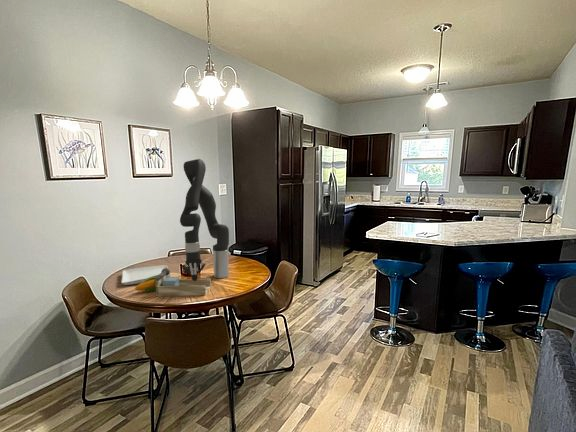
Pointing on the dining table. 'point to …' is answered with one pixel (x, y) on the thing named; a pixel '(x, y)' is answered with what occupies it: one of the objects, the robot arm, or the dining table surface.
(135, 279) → the square plate
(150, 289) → the corn
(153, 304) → the dining table surface
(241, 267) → the dining table surface
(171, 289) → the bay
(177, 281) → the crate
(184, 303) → the dining table surface
